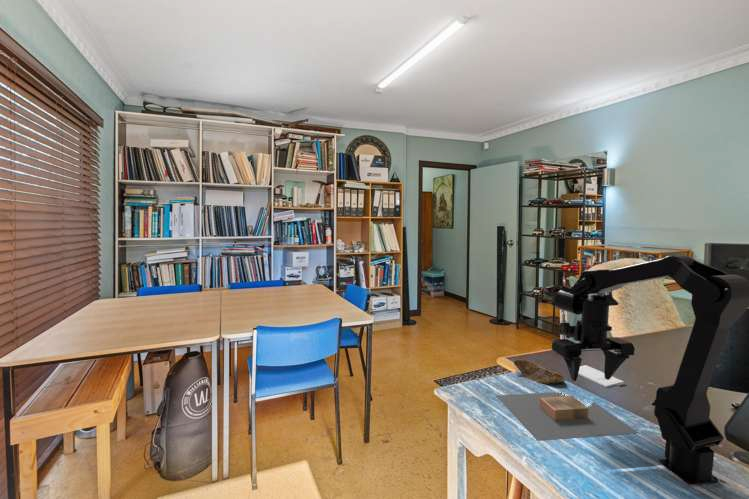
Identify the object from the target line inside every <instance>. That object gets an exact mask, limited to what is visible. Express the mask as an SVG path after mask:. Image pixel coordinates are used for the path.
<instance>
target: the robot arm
mask: <svg viewBox="0 0 749 499" xmlns="http://www.w3.org/2000/svg"><path fill="white" fill-rule="evenodd" d="M665 278H671V279H673V281H674V282H675V283H676V284H677V285H678V286H679V287H680V288H681V289H683V290H684V291H685V292H687V293H689V294H691V300H690V301H691V302H690V305H691V308H692V311H693V314H694V322H693V325H692V327H691V328H692V329H691V331H690V335H689V338H688V340H687V343H686V347H685V350H684V352H683V356H682V359H681V360H680V361H681V362H680V364H679V368H678V370H677V374H676V377H675V381H674V383H673V384H672V385H667V386H661V387H660V386H659V387H658V388H657V390H656V392H655V399H654V401H653V402H652V403H651V406H654V408H653V409H654V410H653V414H654V417H655V418H656V420H657V423H658V427H659V431H660V434H661V437H662V439H663V440H664V441H665V446H664V447H665V448H664V458H660V459H658V462H659V463H660V464H661V465H662V466H663V467H665V468H666V469H667V470H669V471H670V472H671V471H672V472H671V473H673V474H674V475H675V476H677V477H679V478H680V479H681V480H682V481H684V482H685V483H687V484H688V485H691V486H692V485H693V486H695V485H704V484H714V483H719V481H720V479H719V478H718V477H717V476H715V475H714V474H713V470H714V460H715V459H714V458H715V457H714V456H715V451H714V450H713V449H712V448H711V447H715V446H716V447H717V446H720V444H721V443H722V442H723V441H724V436H723V434H722V433H721V432H720V430H719V429H718V428H717V426H716V425H715V424H714V423H713V421H712V419H710V414H711V405H710V402H709V397H708V390H709V387H710V385H711V382H712V379H713V375H714V373H715V370H716V367H717V365H718V362H719V359H720V356H721V353H722V351H723V348H724V344H725V343H726V339H727V337H728V334H729V331H730V328H731V327H732V325H734V324H735V322H737V320H738V319H740V318H741V316H743V315H744V314H745V313H746V312H747V310H748V308H749V280H748V278H745V277H744V276H741V275H738V274H730V273H727V272H725V271H723V270H721V269H718V268H716V267H714V266H711V265H708V264H706V263H704V262H703V263H702V262H700V261H698V260H696V259H694V258H693V257H690V256H688V255H685V254H683V255H667V256H665V257H663V258H659V259H658V258H657V259H655V260H650V261H646V262H641V263H637V264H633V265H627V266H623V267H620V268H615V269H614V268H613V269H612V268H611V269H610V268H609V269H608V268H607V269H605V268H603V269H587V270H586V269H585V270H582V272H580V275H579V278H578V279H577V280H576V282H575V283H574V285H573V286H571V285H561V287H560V288H561V289H560V290H558V292H556V294H555V297H554V300H553V301H554V305H555V307H556V308H557V309H559V310H561V311H565V312H567V313H570V314H575V315H577V316H579V315H581V319H580V320H577V321H576V325H571V324H570V322H559V326H558V332H559V334H560V335H561V336H565V338H558V339H557V338H555V339H554V340H553V341H552V342H551V350H552V351H554V352H556V353H557V355H560V356H561V357H562V358H563V359H564V362H565V364H566V368H567V370H568V372H569V376H570V379H571V380H572V381H573V382H577V380H578V377H579V375H578V373H579V368H580V366H581V364H582V358H581V357H580V356H581V355H582V352H589V351H591V352H592V351H595V352H596V351H602V352H603V355H604V371H603V373H604V375H605V379H607V380H609V379H610V378H611V377H613V375H614V374H615V372H617V370H618V369H619V368H620V366H622V364H623V363H624V362H625V361H626V360H627V359H630V356H634V355H635V346H634V344H633V343H632V342H630V341H628V340H625V339H623V338H621V337H618V336H615V337H611V336H610V337H608V332H611V331H613V327H612V326H611V325H609V316H610V314H609V312H610V306H611V307H612V306H618V305H619V302H618V301H617V300H616V299H615V298H614V297H613V295H612V294H605V293H611V292H615V291H617V290H619V289H622V288H623V287H624V286H626V285H630V284H635V283H641V282H648V281H652V280H653V281H654V280H659V279H665ZM598 294H604V295H598ZM570 338H573V341H572V340H570ZM574 341H576V342H574Z"/></svg>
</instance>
